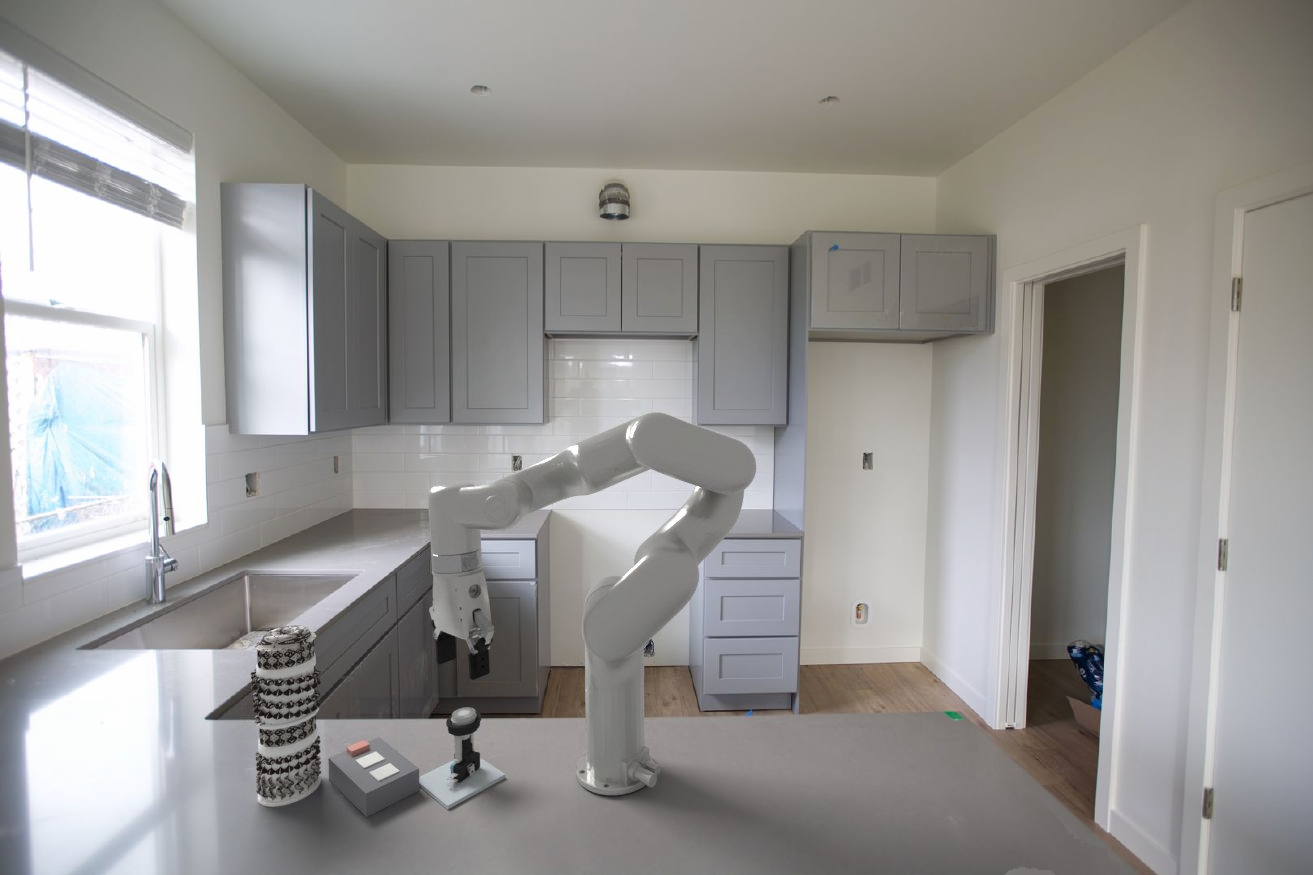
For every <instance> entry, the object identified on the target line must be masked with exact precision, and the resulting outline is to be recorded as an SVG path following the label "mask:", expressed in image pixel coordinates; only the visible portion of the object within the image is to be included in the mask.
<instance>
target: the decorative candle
mask: <svg viewBox="0 0 1313 875" xmlns="http://www.w3.org/2000/svg"><path fill="white" fill-rule="evenodd" d="M317 637H318V636H317V634H316V632H312V631H311V630H310V629H309V628H308V627H306V626H303V625H297V624H296V625H287V626H286V625H285V626H281V627H278V628H275V629H272V630H270V631H268V632H267V633H265V634H264V635H263V636H262V638H261V640H259V641H258V642H257V643H256V644H254V649H256V653H257V654H256V655H257V658H256V659H257V660H256V662H257V663H256V664H255V665H256V666H255V667H256V668H254V670H253V672H252V671H251V672H250V678H251V679H250V680H251V681H250V684H251V687H250V689H251V690H253V691H254V693H252V702H253V704H252V706H253V709H252V712H253V713H255V714H256V715H255V716H254V719H253V720H254V724H255V726H256V727H257V728H258V730H259V734H258V735H259V738H258V739H257V741H258V744H257V745H258V746H257V747H258V748H257V749H258V750H257V751H256V752H255V756H256V757H255V761H257V762H255V763H256V764H255V766H256V767H255V770H256V771H257V773H256V775H255V778H256V779H255V782H256V787H255V788H256V790H255V791H256V794H257V803H258V804H260V805H261V806H263V807H269V808H275V807H283V806H288V805H291V804H293V803H296V802H299V801H301V800H304V799H305V798H306V797H308V796H310V795H311V794H312V793H314V792H315V791H316V790H317V789H318V788H319V786H320V784H322V783H321V780H322V779H321V774H322V770H321V769H322V767H321V766H320V765H321V764H322V761H321V756H319V755H320V754H321V751H322V750H321V749H320V748H321V746H320V743H321V739H320V738H321V737H320V735H318V734H319V732H318V724H317V713H318V712H319V710H320V707H321V703H320V700H318V699H319V697H320V696H321V692H320V691H319V690H316V688H317V687H318V686H319V685H320V684H322V681H321V679H320V678H319V676H320V674H322V673H321V672H322V671H321V670H320V668H319V667H316V664H317V660H316V659H317V657H316V653H315V643H314V642H315V641H314V640H315V639H316V638H317Z"/></svg>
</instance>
